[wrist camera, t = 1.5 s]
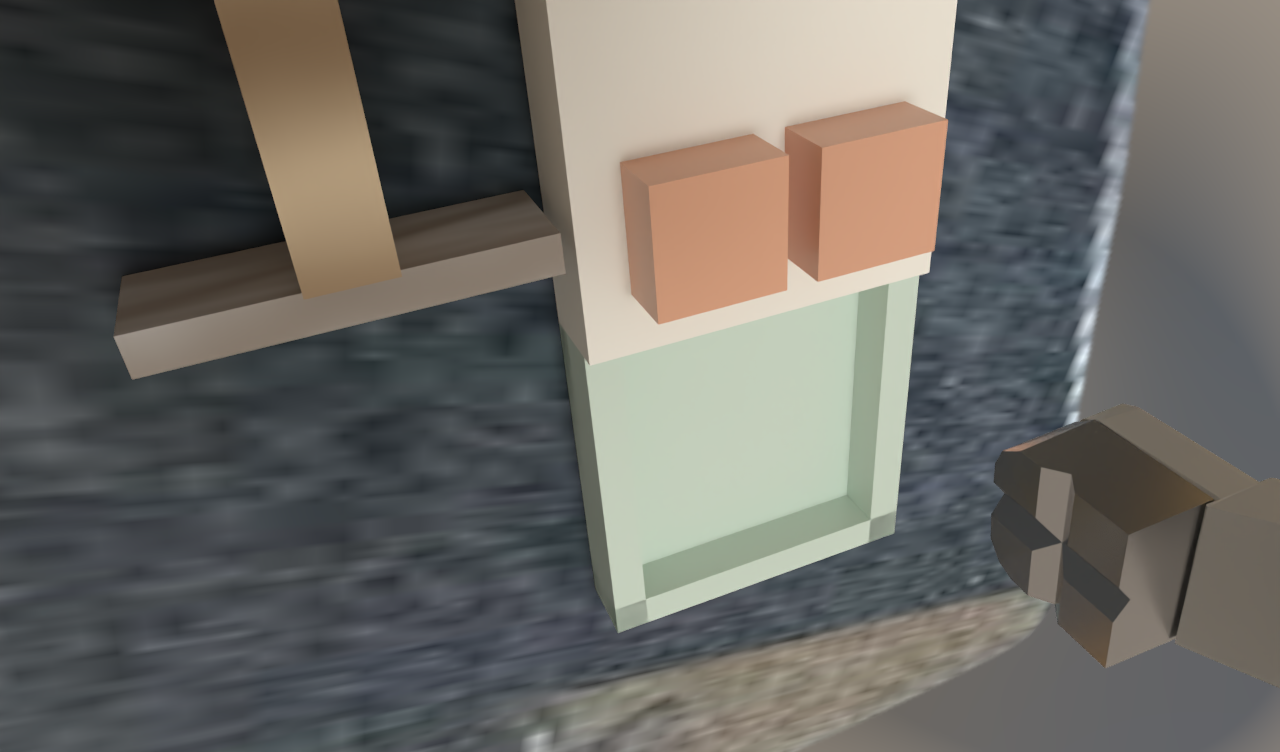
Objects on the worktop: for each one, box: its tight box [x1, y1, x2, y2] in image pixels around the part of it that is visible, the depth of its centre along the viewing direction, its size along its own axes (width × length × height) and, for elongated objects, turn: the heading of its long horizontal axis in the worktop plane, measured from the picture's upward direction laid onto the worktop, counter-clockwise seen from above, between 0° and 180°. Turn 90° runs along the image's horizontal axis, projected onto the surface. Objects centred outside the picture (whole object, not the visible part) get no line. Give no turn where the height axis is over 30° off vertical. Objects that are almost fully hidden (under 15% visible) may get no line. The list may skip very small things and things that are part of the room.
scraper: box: [114, 0, 566, 380], centre depth 22 cm, size 13×11×4 cm
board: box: [515, 0, 957, 366], centre depth 26 cm, size 18×12×3 cm, turn 5°
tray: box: [559, 275, 919, 633], centre depth 35 cm, size 12×12×2 cm
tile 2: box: [785, 101, 948, 282], centre depth 28 cm, size 4×4×2 cm
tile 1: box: [620, 134, 789, 325], centre depth 26 cm, size 4×4×2 cm
